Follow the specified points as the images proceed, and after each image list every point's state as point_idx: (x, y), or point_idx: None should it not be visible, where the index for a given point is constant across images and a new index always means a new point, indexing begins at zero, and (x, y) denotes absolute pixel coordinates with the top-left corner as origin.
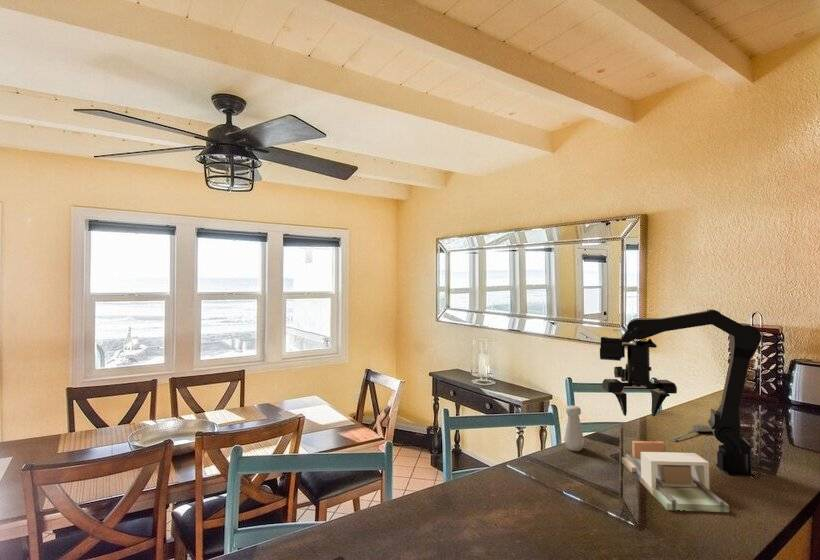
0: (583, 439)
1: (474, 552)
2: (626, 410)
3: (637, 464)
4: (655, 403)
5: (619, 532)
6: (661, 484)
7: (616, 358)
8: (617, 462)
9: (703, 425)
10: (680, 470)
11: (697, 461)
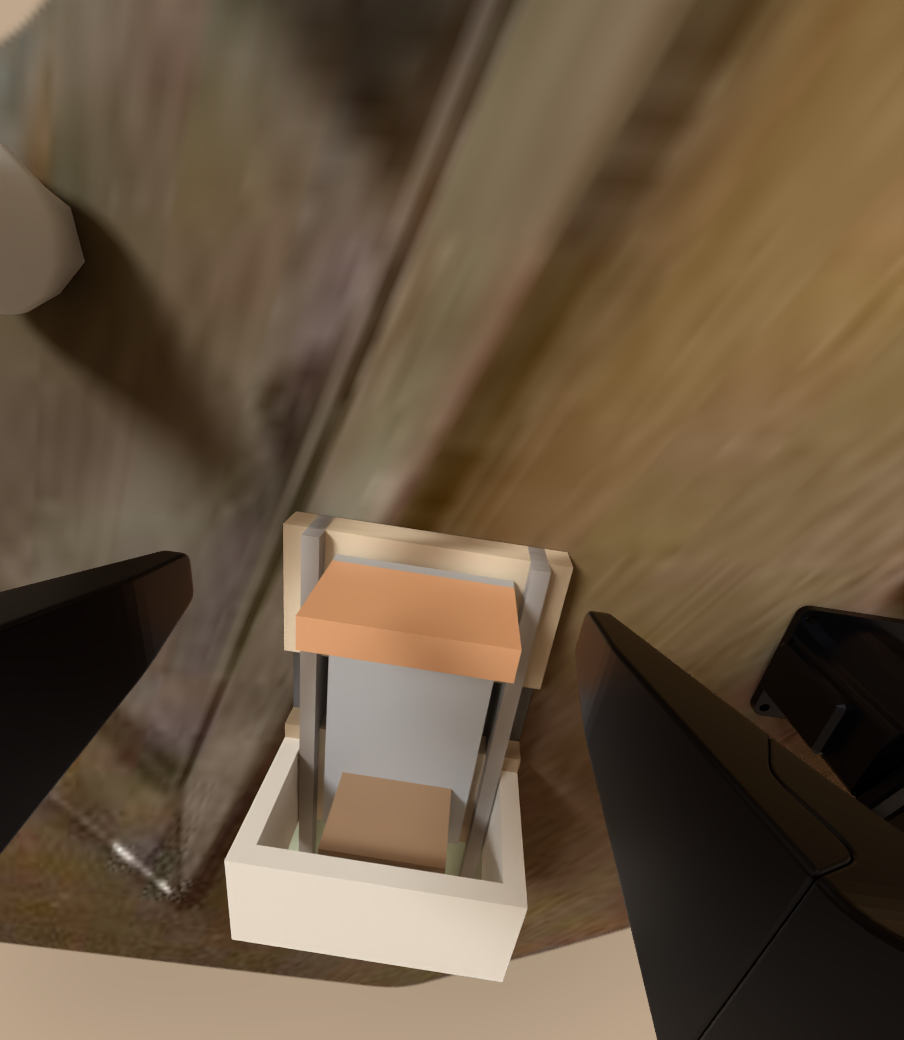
0: (25, 263)
1: None
2: (131, 684)
3: (307, 665)
4: (648, 906)
5: (124, 910)
6: (323, 818)
7: None
8: (271, 505)
9: None
10: None
11: (455, 970)
